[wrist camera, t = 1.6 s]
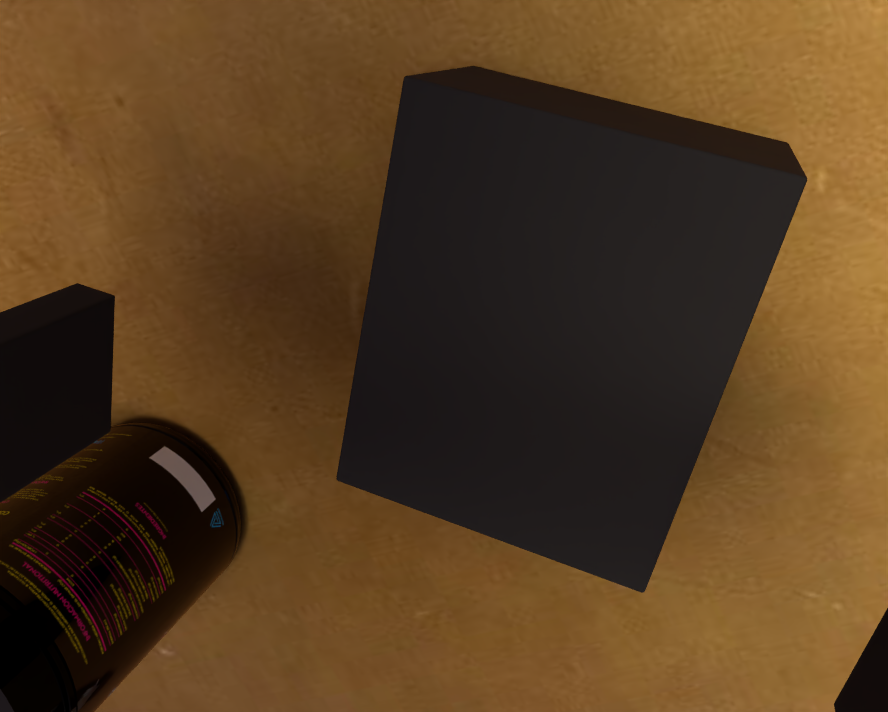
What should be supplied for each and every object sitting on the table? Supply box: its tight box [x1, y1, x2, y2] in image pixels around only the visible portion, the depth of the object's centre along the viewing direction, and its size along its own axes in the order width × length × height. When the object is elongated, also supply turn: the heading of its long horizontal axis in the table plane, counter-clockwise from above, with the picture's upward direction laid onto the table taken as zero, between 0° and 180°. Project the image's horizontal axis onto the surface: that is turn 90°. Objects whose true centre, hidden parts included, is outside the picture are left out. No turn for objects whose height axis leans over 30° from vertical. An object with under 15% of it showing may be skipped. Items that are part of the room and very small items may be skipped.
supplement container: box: [0, 423, 241, 712], centre depth 25 cm, size 7×7×10 cm
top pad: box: [337, 66, 807, 592], centre depth 20 cm, size 10×8×5 cm
